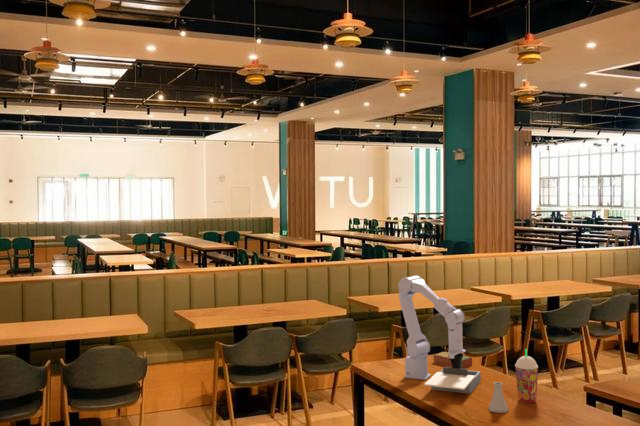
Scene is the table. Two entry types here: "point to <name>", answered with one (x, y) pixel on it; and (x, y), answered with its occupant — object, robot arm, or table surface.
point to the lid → (451, 378)
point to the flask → (498, 400)
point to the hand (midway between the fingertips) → (456, 371)
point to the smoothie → (526, 378)
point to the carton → (444, 359)
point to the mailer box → (469, 387)
